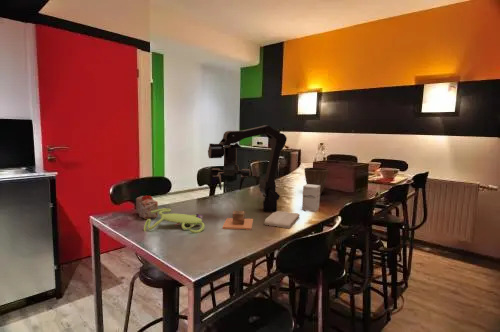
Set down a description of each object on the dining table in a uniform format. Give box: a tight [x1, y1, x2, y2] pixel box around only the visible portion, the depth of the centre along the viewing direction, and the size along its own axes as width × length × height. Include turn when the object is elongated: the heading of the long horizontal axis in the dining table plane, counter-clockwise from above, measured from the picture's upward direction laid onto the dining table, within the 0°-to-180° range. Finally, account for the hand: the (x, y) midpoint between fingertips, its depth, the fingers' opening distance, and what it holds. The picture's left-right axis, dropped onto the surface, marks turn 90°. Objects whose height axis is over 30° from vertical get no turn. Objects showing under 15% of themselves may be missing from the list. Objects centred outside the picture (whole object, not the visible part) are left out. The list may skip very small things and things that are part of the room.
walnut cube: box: [232, 210, 245, 225], centre depth 127 cm, size 5×5×5 cm
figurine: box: [143, 207, 206, 234], centre depth 126 cm, size 18×27×6 cm
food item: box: [135, 194, 159, 220], centre depth 137 cm, size 14×8×10 cm, turn 39°
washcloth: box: [263, 210, 300, 229], centre depth 133 cm, size 12×18×3 cm, turn 157°
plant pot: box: [304, 167, 329, 195], centre depth 188 cm, size 15×15×16 cm
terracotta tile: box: [222, 217, 254, 231], centre depth 127 cm, size 12×12×1 cm
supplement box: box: [301, 183, 321, 213], centre depth 152 cm, size 7×7×13 cm
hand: (230, 190), depth 141 cm, fingers open, 9 cm apart
